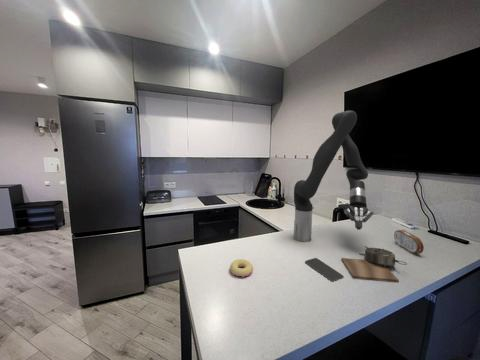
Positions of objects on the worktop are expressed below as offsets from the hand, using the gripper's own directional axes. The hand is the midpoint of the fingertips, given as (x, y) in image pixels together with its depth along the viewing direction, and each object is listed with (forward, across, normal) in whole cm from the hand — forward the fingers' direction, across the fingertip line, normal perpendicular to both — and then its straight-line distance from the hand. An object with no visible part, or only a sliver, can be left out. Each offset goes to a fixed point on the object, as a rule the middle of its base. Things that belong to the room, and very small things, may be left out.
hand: (358, 228), depth 93 cm
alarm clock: (+8, +2, +5) cm, 10 cm away
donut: (+35, -46, -16) cm, 60 cm away
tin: (-1, +23, +19) cm, 30 cm away
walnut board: (+19, +2, -1) cm, 19 cm away
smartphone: (+24, -14, -6) cm, 29 cm away
